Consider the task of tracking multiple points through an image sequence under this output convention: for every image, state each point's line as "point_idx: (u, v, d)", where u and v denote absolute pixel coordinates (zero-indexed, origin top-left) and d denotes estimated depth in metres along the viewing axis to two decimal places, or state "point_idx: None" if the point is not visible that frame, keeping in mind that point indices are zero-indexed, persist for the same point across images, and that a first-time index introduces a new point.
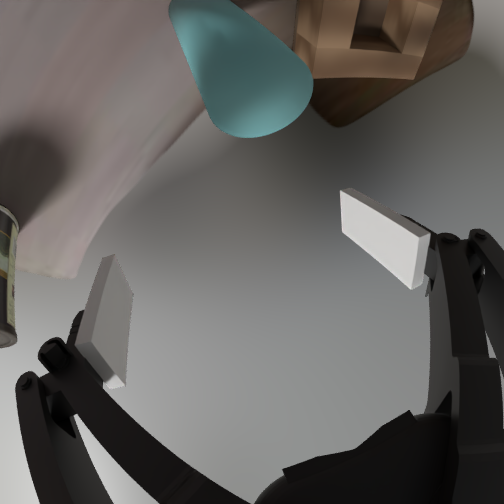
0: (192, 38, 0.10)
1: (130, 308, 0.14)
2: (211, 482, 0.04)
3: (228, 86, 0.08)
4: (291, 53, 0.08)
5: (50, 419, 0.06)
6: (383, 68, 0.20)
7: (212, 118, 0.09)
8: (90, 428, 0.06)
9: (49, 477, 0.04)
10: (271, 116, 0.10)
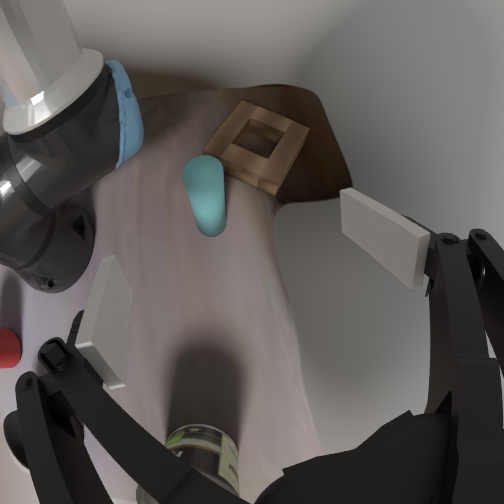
0: None
1: (130, 308, 0.14)
2: (211, 482, 0.04)
3: (190, 178, 0.27)
4: (193, 158, 0.28)
5: (50, 419, 0.06)
6: (292, 144, 0.41)
7: (197, 188, 0.27)
8: (90, 428, 0.06)
9: (48, 477, 0.04)
10: (214, 172, 0.27)
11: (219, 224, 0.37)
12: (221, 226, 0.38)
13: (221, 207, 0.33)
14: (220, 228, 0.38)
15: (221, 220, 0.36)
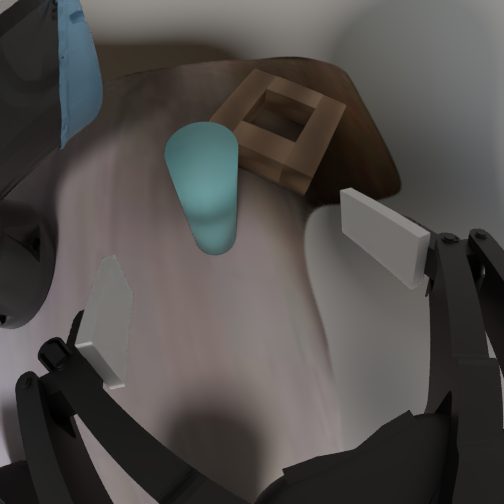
0: (179, 199, 0.18)
1: (130, 308, 0.14)
2: (211, 482, 0.04)
3: (177, 160, 0.14)
4: (184, 127, 0.15)
5: (50, 419, 0.06)
6: (326, 124, 0.28)
7: (190, 179, 0.14)
8: (90, 428, 0.06)
9: (49, 477, 0.04)
10: (221, 150, 0.15)
11: (228, 238, 0.24)
12: (230, 240, 0.25)
13: (232, 213, 0.20)
14: (228, 243, 0.26)
15: (230, 232, 0.24)
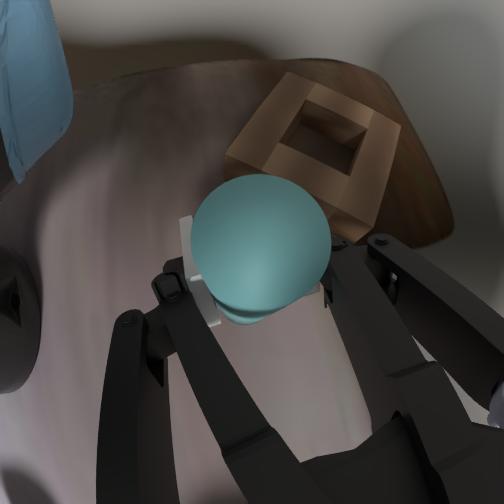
0: None
1: None
2: (283, 443, 0.05)
3: (218, 261, 0.08)
4: (225, 184, 0.09)
5: (145, 363, 0.08)
6: (382, 151, 0.21)
7: (249, 304, 0.07)
8: (183, 361, 0.07)
9: (120, 422, 0.06)
10: (301, 240, 0.08)
11: None
12: None
13: None
14: None
15: None
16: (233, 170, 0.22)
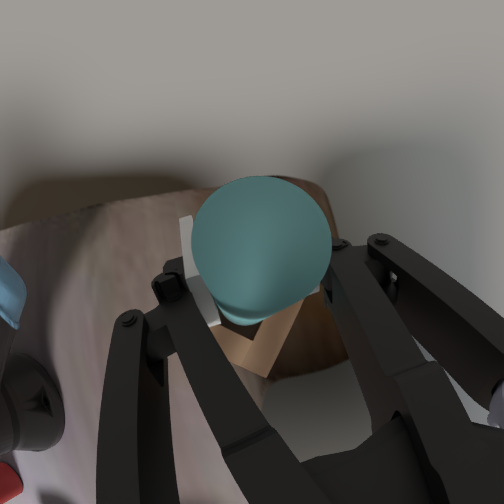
0: None
1: None
2: (283, 443, 0.05)
3: (219, 264, 0.08)
4: (225, 186, 0.09)
5: (145, 363, 0.08)
6: (287, 311, 0.30)
7: (250, 307, 0.07)
8: (183, 361, 0.07)
9: (120, 422, 0.06)
10: (301, 242, 0.08)
11: None
12: None
13: None
14: None
15: None
16: None
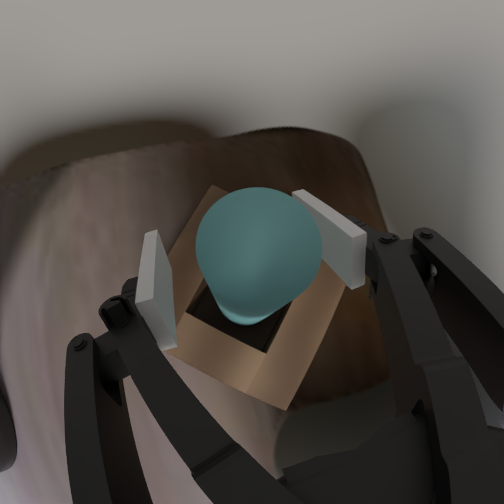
0: None
1: (171, 280, 0.16)
2: (250, 457, 0.04)
3: (221, 266, 0.09)
4: (226, 196, 0.09)
5: (99, 384, 0.07)
6: (319, 307, 0.19)
7: (248, 305, 0.08)
8: (139, 387, 0.07)
9: (84, 443, 0.05)
10: (295, 247, 0.09)
11: None
12: None
13: None
14: None
15: None
16: None
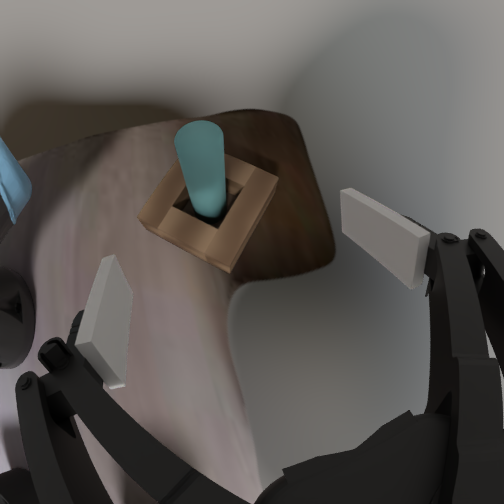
0: (183, 175, 0.25)
1: (130, 308, 0.14)
2: (211, 482, 0.04)
3: (183, 145, 0.21)
4: (188, 124, 0.22)
5: (50, 419, 0.06)
6: (252, 204, 0.32)
7: (191, 157, 0.21)
8: (90, 428, 0.06)
9: (49, 477, 0.04)
10: (212, 139, 0.22)
11: (219, 209, 0.32)
12: (221, 211, 0.33)
13: (221, 186, 0.28)
14: (219, 213, 0.33)
15: (221, 203, 0.31)
16: (145, 225, 0.32)
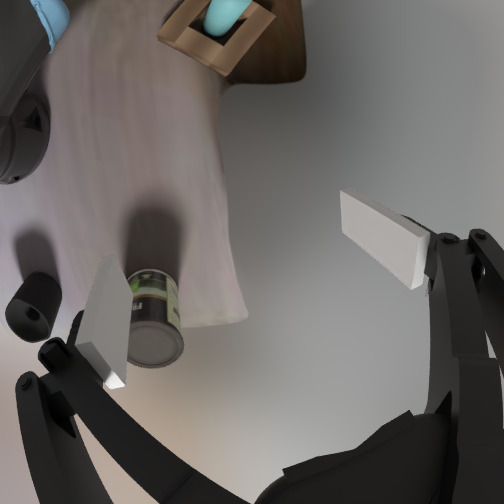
0: (210, 12, 0.24)
1: (130, 308, 0.14)
2: (211, 482, 0.04)
3: None
4: None
5: (50, 418, 0.06)
6: (252, 32, 0.31)
7: (228, 8, 0.21)
8: (90, 428, 0.06)
9: (48, 477, 0.04)
10: None
11: (226, 31, 0.31)
12: (226, 32, 0.31)
13: (235, 20, 0.27)
14: (224, 33, 0.32)
15: (229, 28, 0.30)
16: (161, 38, 0.30)
